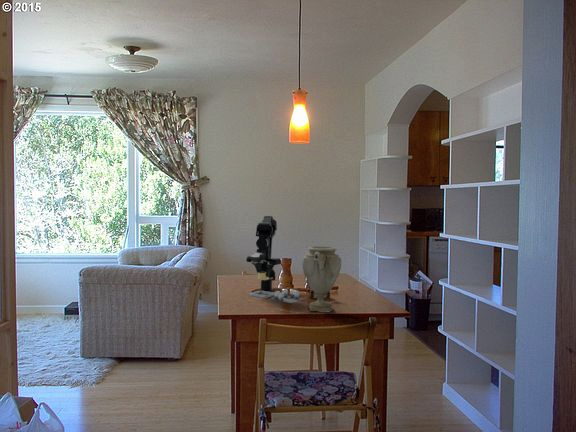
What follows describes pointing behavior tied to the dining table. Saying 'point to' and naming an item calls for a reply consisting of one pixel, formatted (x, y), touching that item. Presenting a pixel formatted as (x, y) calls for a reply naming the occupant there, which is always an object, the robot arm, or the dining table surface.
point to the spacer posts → (283, 294)
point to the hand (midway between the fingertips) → (263, 276)
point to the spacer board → (288, 299)
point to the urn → (321, 274)
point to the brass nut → (262, 276)
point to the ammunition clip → (313, 296)
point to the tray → (262, 295)
